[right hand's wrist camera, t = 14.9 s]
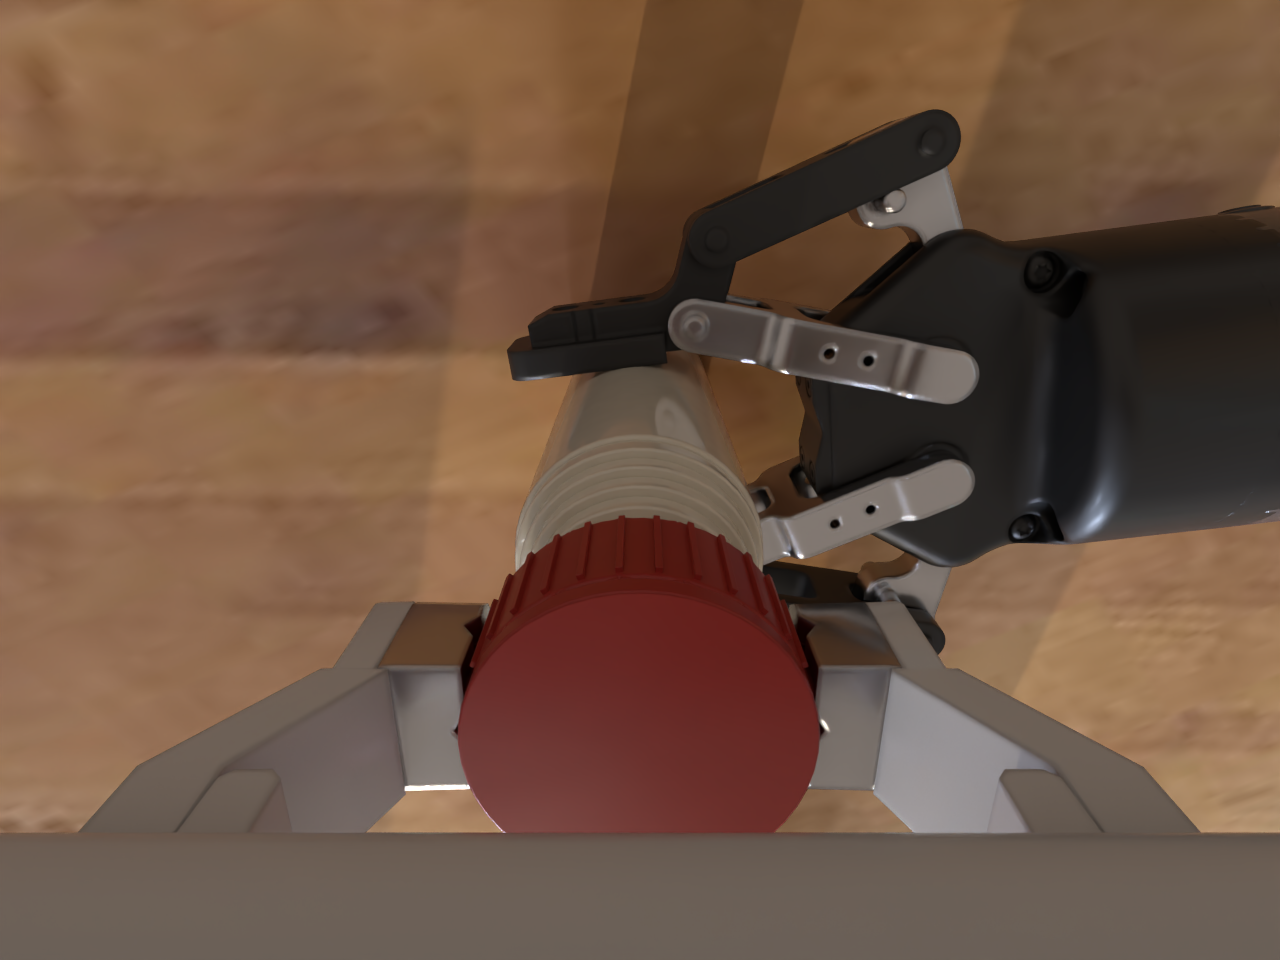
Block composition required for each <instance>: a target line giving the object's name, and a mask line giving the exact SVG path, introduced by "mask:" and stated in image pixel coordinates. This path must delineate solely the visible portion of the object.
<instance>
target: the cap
mask: <svg viewBox="0 0 1280 960" xmlns="http://www.w3.org/2000/svg"><path fill="white" fill-rule="evenodd" d="M469 666H470V667H473V668H474V669H473V671H472V674H471V677H470V680H469V682H468V685H467V688H466V690H465V696H464V699H463V702H462V704H461V710H460V715H459V721H458V747H459V754H460V760H461V764H462V768H463V771H464V774H465V777H466V780H467V783H468V785H469V787H470V789H471V790H472V792H473V794H474V796H475V798H476V800H477V801H478V803H479V804H480V806H481V807H482V809H483V810H484V812H485V813H486V814H487V816H488V817H489V818H490V819H491V820H492V821H493V822H494V823H495V824H496V825H497V827H498V828H499V829H500V830H501V831H503V832H504V833H774V832H775V831H776V830H777V829H778V828H779V827H780V826H781V825H782V824H783V823H784V822H785V821H786V820H787V819H788V818H789V816H790V815H791V814H792V813H793V811H794V810H795V809H796V807H797V806H798V804H799V803H800V801H801V799H802V798H803V796H804V794H805V792H806V791H807V789H808V786H809V784H810V781H811V779H812V776H813V774H814V771H815V767H816V762H817V758H818V754H819V743H820V726H819V716H818V711H817V707H816V703H815V700H814V690H813V688H812V685H811V682H810V679H809V677H808V674H807V671H806V667H809V665H808V663H807V660H806V657H805V654H804V651H803V649H802V646H801V643H800V640H799V638H798V635H797V632H796V629H795V626H794V624H793V621H792V618H791V615H790V612H789V610H788V607H787V604H786V602H785V600H781V601H780V600H779V597H778V594H777V591H776V588H775V585H774V582H773V579H772V577H771V576H770V575H769V574H768V575H766V576H765V575H764V574H763V573H762V572H761V570H760V569H759V568H758V567H757V566H756V565H755V564H754V562H753V559H752V556H751V554H749V553H748V552H746V553H745V554H743V553H742V552H741V551H740V550H738V549H737V548H735V547H734V546H732V545H731V544H730V543H728V542H726V539H725V536H723V535H721V534H719V535H718V537H717V536H715V535H713V534H711V533H709V532H707V531H704V530H702V529H699V528H696V527H694V523H692V522H689V521H688V522H687V524H684V523H682V522H677V521H671V520H664V519H660V516H658V515H654V516H653V518H625V515H620V516H618V519H614V520H609V521H603V522H599V523H596V524H592V523H591V521H589V522H586V523H585V524H584V527H581V528H579V529H576V530H572V531H571V532H568V533H566V534H565V535H563V536H560V534H557V535H555V536H554V537H553V541H552V542H550V543H549V544H547V545H545V546H544V547H543V548H541V549H540V550H539V551H538V552H536V553H535V554H534V553H533V552H532V551H531V552H530V553H529V554H527V557H526V560H525V563H524V564H523V565H522V566H521V567H520V568H519V569H518V570H517V571H516V573H515V574H514V575H511V574H509V575H508V576H507V577H506V580H505V583H504V586H503V588H502V591H501V594H500V597H499V600H496V599H494V600H493V602H492V605H491V607H490V610H489V613H488V616H487V618H486V621H485V624H484V627H483V629H482V632H481V635H480V637H479V640H478V643H477V646H476V648H475V651H474V654H473V657H472V659H471V662H470V665H469Z"/></svg>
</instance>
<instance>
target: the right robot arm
mask: <svg viewBox="0 0 1280 960" xmlns="http://www.w3.org/2000/svg"><path fill="white" fill-rule="evenodd" d="M489 610H490V607H489V604H488V603H441V602H417V603H415V602H414V601H408V602H380V603H377V604H375V605H374V606H373V608H372V609H371V611H370V612H369V614H368V615H367V617H366V618H365V620H364V621H363V623H362V624H361V626H360V628H359V629H358V631H357V632H356V634H355V635H354V637H353V638H352V640H351V641H350V643H349V644H348V646H347V647H346V649H345V650H344V652H343V653H342V655H341V656H340V658H339V659H338V661H337V662H336V664H335V665H334V667H333V669H319V670H318V671H316V672H314V673H312V674H310V675H308V676H306V677H304V678H302V679H301V680H299V681H297V682H295V683H293V684H291V685H289V686H287V687H285V688H284V689H282V690H280V691H278V692H276V693H274V694H272V695H270V696H268V697H267V698H265V699H263V700H261V701H259V702H257V703H255V704H253V705H251V706H250V707H248V708H246V709H244V710H242V711H240V712H238V713H236V714H234V715H233V716H231V717H229V718H227V719H225V720H223V721H221V722H219V723H217V724H215V725H214V726H212V727H210V728H208V729H206V730H204V731H202V732H200V733H198V734H197V735H195V736H193V737H191V738H189V739H187V740H185V741H183V742H181V743H180V744H178V745H176V746H174V747H172V748H170V749H168V750H166V751H164V752H163V753H161V754H159V755H157V756H155V757H153V758H151V759H149V760H147V761H146V762H144V763H142V764H140V765H138V766H137V767H136V768H135V769H134V770H133V771H132V772H131V773H130V774H129V776H128V777H127V778H126V779H125V780H124V781H123V782H122V783H121V785H120V786H119V787H118V788H117V789H116V790H115V791H114V792H113V794H112V795H111V796H110V797H109V798H108V799H107V800H106V801H105V803H104V804H103V805H102V806H101V807H100V808H99V809H98V810H97V812H96V813H95V814H94V815H93V816H92V817H91V818H90V819H89V821H88V822H87V823H86V824H85V825H84V826H83V827H82V828H81V830H80V831H79V832H78V833H0V960H1280V833H1201V832H1200V831H1199V830H1198V829H1197V827H1196V826H1195V825H1194V824H1193V823H1192V822H1191V821H1190V820H1189V818H1188V817H1187V816H1186V815H1185V814H1184V813H1183V812H1182V810H1181V809H1180V808H1179V807H1178V806H1177V805H1176V804H1175V802H1174V801H1173V800H1172V799H1171V798H1170V797H1169V796H1168V795H1167V793H1166V792H1165V791H1164V790H1163V789H1162V788H1161V787H1160V785H1159V784H1158V783H1157V782H1156V781H1155V780H1154V779H1153V778H1152V776H1151V775H1150V774H1149V773H1148V772H1147V771H1146V770H1145V768H1144V767H1142V766H1140V765H1138V764H1137V763H1135V762H1133V761H1131V760H1129V759H1127V758H1125V757H1123V756H1121V755H1120V754H1118V753H1116V752H1114V751H1112V750H1110V749H1108V748H1106V747H1105V746H1103V745H1101V744H1099V743H1097V742H1095V741H1093V740H1091V739H1089V738H1088V737H1086V736H1084V735H1082V734H1080V733H1078V732H1076V731H1074V730H1073V729H1071V728H1069V727H1067V726H1065V725H1063V724H1061V723H1059V722H1057V721H1056V720H1054V719H1052V718H1050V717H1048V716H1046V715H1044V714H1042V713H1041V712H1039V711H1037V710H1035V709H1033V708H1031V707H1029V706H1027V705H1026V704H1024V703H1022V702H1020V701H1018V700H1016V699H1014V698H1012V697H1010V696H1009V695H1007V694H1005V693H1003V692H1001V691H999V690H997V689H995V688H994V687H992V686H990V685H988V684H986V683H984V682H982V681H980V680H978V679H977V678H975V677H973V676H971V675H969V674H967V673H965V672H963V671H962V670H960V669H947V668H946V667H945V665H944V664H943V662H942V661H941V659H940V658H939V656H938V655H937V653H936V652H935V650H934V649H933V647H932V646H931V644H930V643H929V641H928V640H927V638H926V637H925V635H924V634H923V632H922V631H921V629H920V628H919V626H918V625H917V623H916V622H915V620H914V619H913V617H912V616H911V614H910V613H909V611H908V610H907V608H906V607H905V605H904V604H902V603H900V602H898V601H890V602H866V603H865V602H857V603H816V604H792V605H790V606H789V612H790V615H791V618H792V621H793V624H794V626H795V629H796V632H797V635H798V638H799V640H800V643H801V646H802V649H803V651H804V654H805V657H806V660H807V663H808V665H809V667H806V671H807V674H808V677H809V679H810V682H811V685H812V688H813V690H814V700H815V703H816V707H817V711H818V716H819V726H820V743H819V754H818V758H817V762H816V767H815V771H814V774H813V776H812V779H811V781H810V784H809V786H808V789H832V790H868V791H874V792H873V794H874V795H875V796H876V797H877V798H878V799H879V800H880V801H882V802H883V803H884V804H885V805H886V806H887V807H888V808H889V809H890V810H891V811H892V812H893V813H894V814H895V815H896V816H897V817H898V818H899V819H900V820H901V821H903V822H904V823H905V824H906V825H907V826H908V827H909V828H910V829H911V830H912V831H913V832H914V833H365V832H366V831H368V830H369V829H370V828H371V827H372V826H373V825H374V824H375V823H376V822H377V821H378V820H379V819H380V818H381V817H382V816H383V815H384V814H385V813H386V812H388V811H389V810H390V809H391V808H392V807H393V806H394V805H395V804H396V803H397V802H398V801H399V800H400V799H401V798H402V797H403V796H404V795H405V794H406V793H405V791H411V790H446V789H470V787H469V785H468V783H467V780H466V777H465V774H464V771H463V768H462V764H461V760H460V754H459V747H458V721H459V715H460V710H461V704H462V702H463V699H464V696H465V690H466V688H467V685H468V682H469V680H470V677H471V674H472V671H473V669H474V668H473V667H470V666H469V665H470V662H471V659H472V657H473V654H474V651H475V648H476V646H477V643H478V640H479V637H480V635H481V632H482V629H483V627H484V624H485V621H486V618H487V616H488V613H489Z"/></svg>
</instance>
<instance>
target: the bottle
mask: <svg viewBox="0 0 1280 960" xmlns="http://www.w3.org/2000/svg"><path fill="white" fill-rule="evenodd" d="M666 354H667V363H665V364H657V365H649V366H641V367H629V368H622V369H617V370H609V371H601V372H593V373H585V374H577V375H572V378H571V381H570V383H569V386H568V389H567V391H566V394H565V397H564V399H563V402H562V405H561V407H560V410H559V412H558V415H557V418H556V420H555V423H554V426H553V428H552V431H551V434H550V436H549V439H548V442H547V444H546V447H545V450H544V452H543V455H542V457H541V460H540V463H539V465H538V468H537V471H536V473H535V476H534V479H533V481H532V484H531V487H530V489H529V492H528V495H527V497H526V500H525V502H524V505H523V508H522V510H521V513H520V517H519V521H518V525H517V530H516V540H515V548H516V550H515V568H516V571H517V570H518V569H519V568H520V567H521V566H522V565H523V564H524V563H525V560H526V557H527V554H529V553H530V552H531V551H532V552H533V553H534V554H535V553H536V552H538V551H539V550H540V549H541V548H543V547H544V546H545V545H547V544H549V543H550V542H552V541H553V537H554V536H555V535H557V534H560V536H563V535H565V534H566V533H568V532H571V531H572V530H576V529H579V528H581V527H584V524H585V523H586V522H589V521H591V523H592V524H596V523H599V522H603V521H609V520H614V519H618V516H620V515H625V518H653V516H654V515H658V516H660V519H664V520H671V521H677V522H682V523H684V524H687V522H688V521H689V522H692V523H694V527H696V528H699V529H702V530H704V531H707V532H709V533H711V534H713V535H715V536H717V537H718V535H719V534H721V535H723V536H725V539H726V542H728V543H730V544H731V545H732V546H734V547H735V548H737V549H738V550H740V551H741V552H742V553H743V554H745V553H746V552H748V553H749V554H751V556H752V559H753V562H754V564H755V565H756V566H757V567H758V568H759V569H760V570H761V572H763V561H764V558H763V533H762V528H761V523H760V518H759V515H758V512H757V510H756V507H755V504H754V501H753V499H752V496H751V493H750V491H749V488H748V485H747V483H746V480H745V477H744V475H743V472H742V469H741V466H740V464H739V461H738V458H737V456H736V453H735V450H734V448H733V445H732V442H731V440H730V437H729V434H728V432H727V429H726V426H725V423H724V421H723V418H722V415H721V413H720V410H719V407H718V405H717V402H716V399H715V397H714V394H713V391H712V389H711V386H710V383H709V381H708V378H707V375H706V372H705V370H704V367H703V364H702V362H701V359H700V356H699V354H696V353H690V352H686V351H684V350H678V351H670V352H666Z"/></svg>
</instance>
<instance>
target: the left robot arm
mask: <svg viewBox="0 0 1280 960" xmlns="http://www.w3.org/2000/svg"><path fill="white" fill-rule="evenodd" d="M960 142H961V133H960V128H959V125H958V123H957V121H956V120H955V118H954V117H953V116H952V115H951V114H949V113H947V112H945V111H943V110H928V111H925V112H921V113H918V114H915V115H911V116H908V117H905V118H901V119H898V120H895V121H891V122H888V123H886V124H884V125H881V126H879V127H877V128H875V129H873V130H871V131H868V132H866V133H864V134H862V135H860V136H858V137H855V138H853V139H851V140H849V141H847V142H845V143H843V144H840V145H838V146H836V147H834V148H832V149H830V150H827V151H825V152H823V153H821V154H819V155H817V156H814V157H812V158H810V159H808V160H806V161H804V162H801V163H799V164H797V165H795V166H793V167H791V168H788V169H786V170H784V171H782V172H780V173H778V174H775V175H773V176H771V177H769V178H767V179H765V180H762V181H760V182H758V183H756V184H754V185H752V186H749V187H747V188H745V189H743V190H741V191H739V192H736V193H734V194H732V195H730V196H728V197H726V198H723V199H721V200H719V201H717V202H715V203H713V204H710V205H708V206H706V207H704V208H702V209H700V210H697V211H696V212H694V213H693V214H692V215H690V217H689V218H688V219H687V221H686V223H685V225H684V228H683V238H682V242H681V247H680V251H679V255H678V259H677V264H676V268H675V271H674V274H673V276H672V278H671V279H670V281H669V282H668V283H667V284H666V285H665V286H664V287H663V288H662V289H660V290H658V291H656V292H654V293H650V294H644V295H636V296H629V297H621V298H613V299H605V300H597V301H590V302H582V303H574V304H566V305H559V306H554V307H552V308H550V309H548V310H547V311H545V312H543V313H541V314H540V315H538V316H536V317H535V318H534V320H533V321H532V322H531V323H530V324H529V325H528V329H529V335H530V336H526V337H522V338H519V339H517V340H515V341H514V342H513V344H512V345H511V346H510V347H509V348H508V349H507V353H508V359H509V364H510V369H511V374H512V379H513V380H516V381H528V380H536V379H544V378H552V377H560V376H569V375H577V374H585V373H593V372H601V371H609V370H617V369H622V368H629V367H641V366H649V365H657V364H665V363H667V354H666V352H670V351H678V350H684V351H686V352H690V353H696V354H701V355H707V356H713V357H718V358H724V359H730V360H735V361H741V362H746V363H752V364H757V365H761V366H764V367H766V368H768V369H771V370H774V371H777V372H781V373H785V374H790V375H796V385H797V388H798V391H799V394H800V397H801V400H802V403H803V405H804V409H805V415H804V420H803V424H802V428H801V433H800V437H799V453H800V456H797V457H795V458H792V459H790V460H788V461H785V462H783V463H780V464H778V465H776V466H773V467H771V468H769V469H767V470H766V471H764V472H763V473H762V474H761V475H760V476H759V478H758V479H757V480H756V481H754V482H752V483H750V484H748V488H749V491H750V493H751V496H752V499H753V501H754V504H755V507H756V510H757V512H758V515H759V518H760V523H761V528H762V533H763V558H764V561H763V572H762V573H763V574H764V575H765V576H766V575H768V574H769V575H770V576H771V577H772V579H773V582H774V585H775V588H776V591H777V594H778V597H779V600H780V601H781V600H785V602H786V604H787V607H788V610H789V606H790V605H792V604H816V603H857V602H865V603H866V602H890V601H898V602H900V603H902V604H904V605H905V607H906V608H907V610H908V611H909V613H910V614H911V616H912V617H913V619H914V620H915V622H916V623H917V625H918V626H919V628H920V629H921V631H922V632H923V634H924V635H925V637H926V638H927V640H928V641H929V643H930V644H931V646H932V647H933V649H934V650H935V652H936V653H937V655H938V654H939V653H940V652H941V651H942V649H943V648H944V645H945V635H944V633H943V631H942V630H941V628H940V627H939V626H938V624H937V623H936V621H935V613H936V610H937V608H938V605H939V602H940V599H941V596H942V593H943V591H944V588H945V585H946V582H947V579H948V577H949V574H950V571H951V568H952V567H958V566H961V565H965V564H967V563H970V562H972V561H974V560H975V559H977V558H979V557H980V556H982V555H983V554H985V553H987V552H989V551H991V550H993V549H996V548H998V547H1001V546H1004V545H1007V544H1012V543H1039V544H1079V543H1088V542H1097V541H1106V540H1114V539H1123V538H1132V537H1141V536H1150V535H1159V534H1168V533H1177V532H1186V531H1196V530H1204V529H1213V528H1222V527H1231V526H1240V525H1249V524H1258V523H1266V522H1275V521H1280V207H1275V206H1261V205H1251V206H1245V207H1240V208H1235V209H1230V210H1226V211H1223V212H1220V213H1218V215H1213V216H1205V217H1197V218H1189V219H1182V220H1174V221H1167V222H1159V223H1151V224H1143V225H1136V226H1128V227H1120V228H1113V229H1105V230H1097V231H1089V232H1082V233H1074V234H1066V235H1059V236H1051V237H1043V238H1036V239H1028V240H1020V241H1007V242H1004V241H1001V240H998V239H995V238H993V237H991V236H989V235H987V234H985V233H982V232H980V231H977V230H971V229H963V225H962V221H961V217H960V214H959V210H958V206H957V202H956V198H955V195H954V191H953V187H952V183H951V179H950V176H949V172H948V168H947V166H948V165H949V164H950V163H951V162H952V160H953V159H954V158H955V156H956V154H957V152H958V149H959V146H960ZM846 212H848V213H849V216H850V217H851V219H852V220H853V221H854V222H855V223H856V224H858V225H860V226H862V227H866V228H873V229H888V228H891V227H895V226H897V227H899V228H901V229H902V230H903V231H904V232H905V233H906V234H907V236H908V237H909V240H910V242H909V243H908V244H907V245H906V246H904V247H903V248H902V249H901V250H900V251H899V252H898V253H896V254H895V255H894V256H893V257H892V258H891V259H890V260H888V261H887V262H886V263H885V264H884V265H883V266H882V267H880V268H879V269H878V270H877V271H876V272H875V273H874V274H872V275H871V276H870V277H869V278H868V279H867V280H866V281H864V282H863V283H862V284H861V285H860V286H859V287H858V288H856V289H855V290H854V291H853V292H852V293H851V294H850V295H848V296H847V297H846V298H845V299H844V300H843V301H842V302H840V303H839V304H838V305H837V306H836V307H835V308H834V309H832V310H827V309H821V308H816V307H810V306H805V305H799V304H794V303H789V302H783V301H778V300H772V299H765V298H760V299H758V298H751V297H745V296H740V295H734V294H729V293H728V290H729V286H730V283H731V279H732V275H733V271H734V267H735V264H736V261H739V260H741V259H743V258H745V257H748V256H750V255H752V254H754V253H757V252H759V251H761V250H763V249H766V248H768V247H770V246H772V245H775V244H777V243H779V242H781V241H783V240H786V239H788V238H790V237H792V236H795V235H797V234H799V233H801V232H804V231H806V230H808V229H810V228H813V227H815V226H817V225H819V224H821V223H824V222H826V221H828V220H830V219H833V218H835V217H837V216H839V215H842V214H844V213H846ZM869 534H872V535H874V536H876V537H877V538H879V539H881V540H883V541H885V542H887V543H889V544H891V545H893V546H895V547H896V548H898V549H900V550H902V551H904V553H903V554H902V555H901V556H900V557H899V558H897V559H895V560H893V561H890V562H875V563H874V562H867V563H865V564H863V566H862V567H861V571H860V572H859V573H853V572H847V571H840V570H833V569H826V568H819V567H813V566H806V565H799V564H792V563H785V562H778V561H775V560H778V559H780V558H783V557H794V558H797V559H805V558H810V557H813V556H815V555H818V554H820V553H823V552H825V551H828V550H831V549H833V548H836V547H838V546H841V545H843V544H846V543H848V542H851V541H853V540H856V539H859V538H861V537H864V536H866V535H869Z"/></svg>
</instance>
